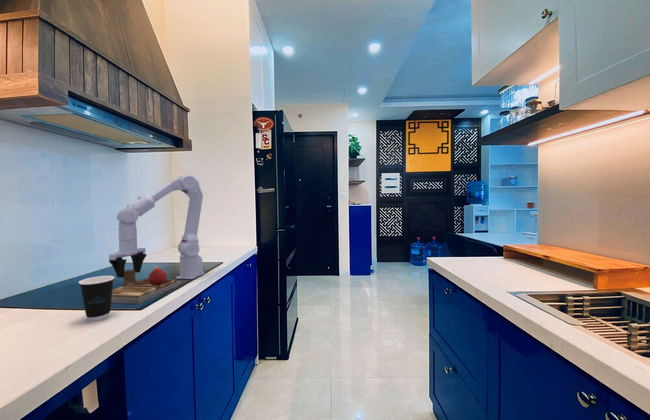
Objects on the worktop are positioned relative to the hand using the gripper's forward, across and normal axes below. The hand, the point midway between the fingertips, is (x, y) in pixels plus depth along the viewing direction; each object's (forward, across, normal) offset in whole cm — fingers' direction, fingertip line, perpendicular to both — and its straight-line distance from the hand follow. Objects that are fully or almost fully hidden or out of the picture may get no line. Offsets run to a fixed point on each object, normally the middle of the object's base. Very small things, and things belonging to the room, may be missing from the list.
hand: (129, 274), depth 109 cm
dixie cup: (+5, +26, +15) cm, 30 cm away
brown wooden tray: (+5, +5, +10) cm, 12 cm away
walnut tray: (+5, 0, +8) cm, 9 cm away
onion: (+5, 0, +12) cm, 13 cm away
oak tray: (+5, +10, +8) cm, 13 cm away
